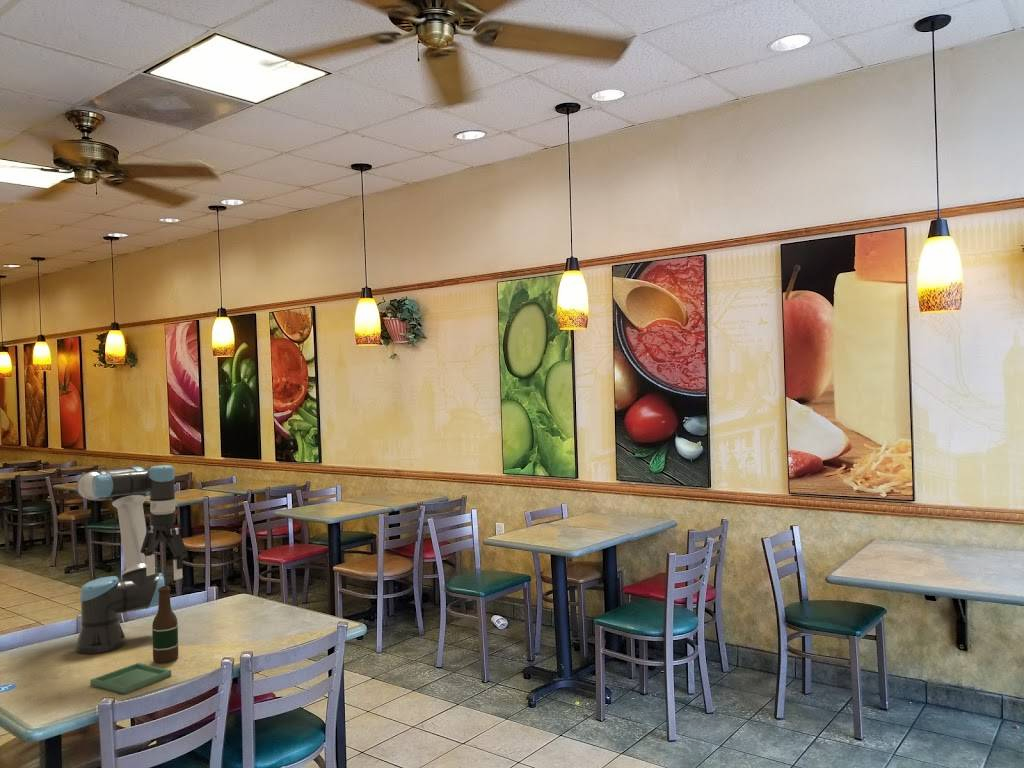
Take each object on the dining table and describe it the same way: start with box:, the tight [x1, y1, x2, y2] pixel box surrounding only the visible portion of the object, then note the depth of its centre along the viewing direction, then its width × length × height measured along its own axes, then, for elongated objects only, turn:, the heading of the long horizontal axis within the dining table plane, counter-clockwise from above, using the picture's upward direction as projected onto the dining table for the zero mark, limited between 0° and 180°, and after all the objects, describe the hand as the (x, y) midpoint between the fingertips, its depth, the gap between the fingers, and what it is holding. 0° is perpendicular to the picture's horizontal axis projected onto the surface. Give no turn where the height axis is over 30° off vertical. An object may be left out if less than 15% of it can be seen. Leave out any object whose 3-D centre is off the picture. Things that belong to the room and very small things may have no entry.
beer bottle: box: [151, 585, 179, 665], centre depth 257 cm, size 8×8×24 cm
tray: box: [90, 662, 172, 695], centre depth 238 cm, size 16×16×2 cm
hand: (164, 576), depth 257 cm, fingers open, 13 cm apart
